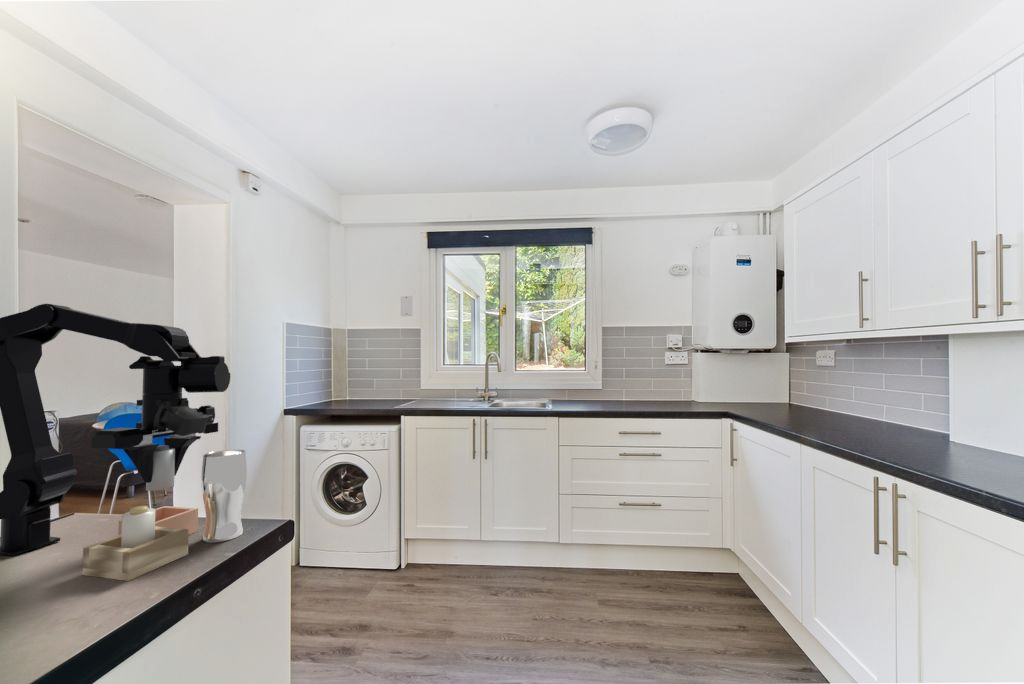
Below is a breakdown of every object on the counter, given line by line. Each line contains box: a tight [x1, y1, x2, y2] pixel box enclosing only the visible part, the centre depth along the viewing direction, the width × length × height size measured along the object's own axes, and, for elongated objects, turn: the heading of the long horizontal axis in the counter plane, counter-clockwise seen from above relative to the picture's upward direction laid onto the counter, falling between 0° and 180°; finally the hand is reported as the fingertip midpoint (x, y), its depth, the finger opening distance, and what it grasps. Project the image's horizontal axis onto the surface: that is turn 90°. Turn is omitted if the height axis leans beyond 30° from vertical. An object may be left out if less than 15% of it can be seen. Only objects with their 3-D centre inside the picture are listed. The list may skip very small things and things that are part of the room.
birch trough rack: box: [82, 526, 190, 582], centre depth 68 cm, size 9×9×4 cm
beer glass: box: [200, 449, 248, 544], centre depth 79 cm, size 7×7×15 cm
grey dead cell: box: [145, 444, 176, 492], centre depth 79 cm, size 4×4×8 cm
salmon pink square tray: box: [117, 505, 199, 536], centre depth 79 cm, size 8×8×4 cm
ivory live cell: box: [121, 505, 156, 548], centre depth 68 cm, size 4×4×8 cm
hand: (160, 479), depth 79 cm, fingers closed on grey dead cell, 4 cm apart
